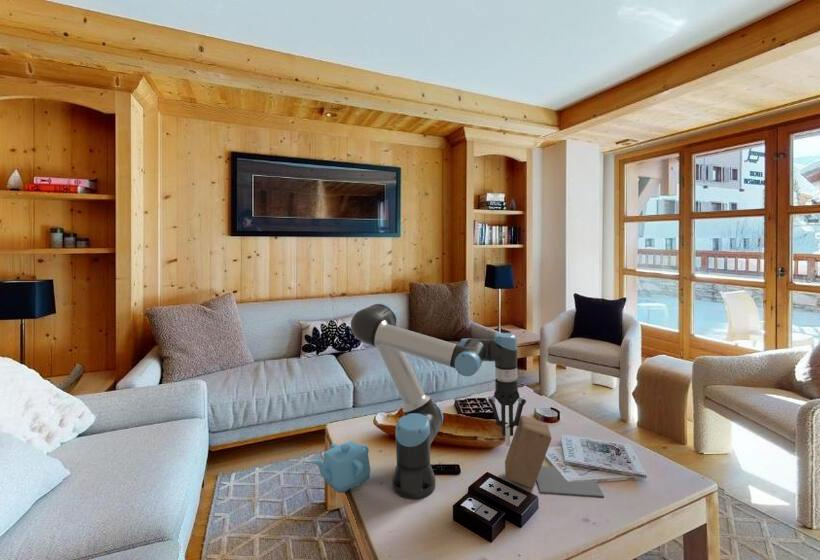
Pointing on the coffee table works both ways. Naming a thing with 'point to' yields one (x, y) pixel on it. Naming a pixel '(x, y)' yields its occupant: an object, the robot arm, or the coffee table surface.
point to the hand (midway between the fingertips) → (507, 443)
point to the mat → (565, 484)
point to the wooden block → (527, 451)
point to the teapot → (345, 465)
